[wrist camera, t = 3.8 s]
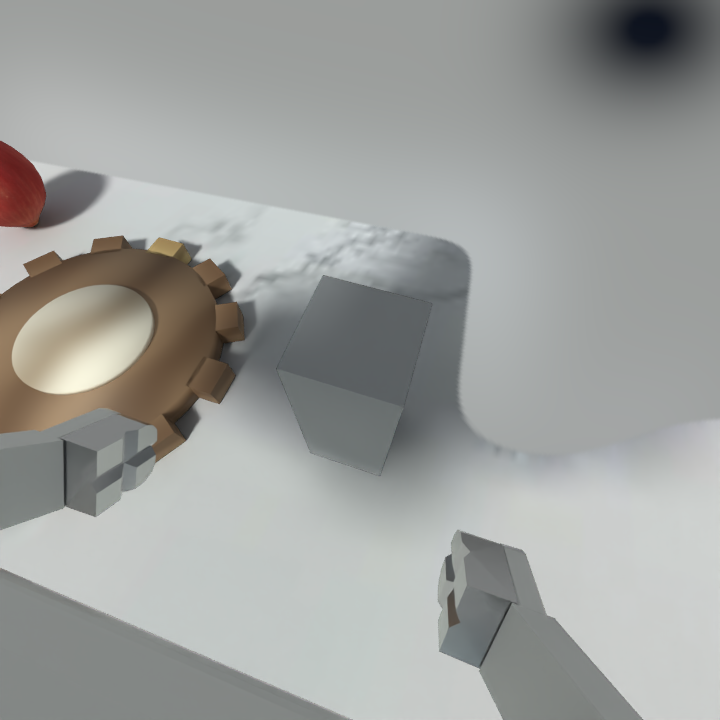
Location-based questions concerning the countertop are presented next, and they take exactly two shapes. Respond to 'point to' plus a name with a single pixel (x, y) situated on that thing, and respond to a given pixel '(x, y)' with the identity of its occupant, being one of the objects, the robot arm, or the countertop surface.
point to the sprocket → (115, 338)
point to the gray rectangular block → (352, 369)
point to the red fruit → (19, 189)
